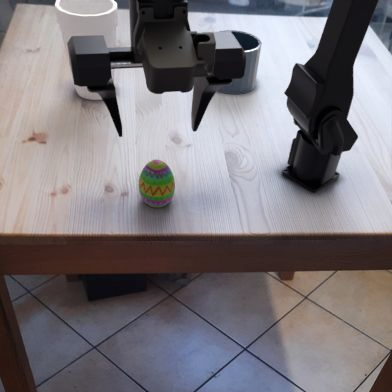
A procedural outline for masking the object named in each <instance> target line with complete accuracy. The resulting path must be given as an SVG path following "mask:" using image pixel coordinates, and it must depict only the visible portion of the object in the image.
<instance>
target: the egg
mask: <svg viewBox="0 0 392 392" xmlns="http://www.w3.org/2000/svg"><path fill="white" fill-rule="evenodd" d="M175 190H176V180H175V176H174V174H173V172H172V170H171V168H170V166H169V165H168V164H167V163H166V162H165V161H164V160H161V159H152V160H150V161H149V162H147V163H146V164H145V165H144V167H143V168H142V170H141V172H140V174H139V178H138V192H139V195H140V197H141V199H142V201H143V202H144V203H145V204H146V205H148V206H149V207H151V208H163V207H166V206H167V205H168V204H169V203H170V202H171V201H172V200H173V197H174V194H175V192H176V191H175Z"/></svg>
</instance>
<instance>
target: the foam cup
mask: <svg viewBox="0 0 392 392" xmlns="http://www.w3.org/2000/svg"><path fill="white" fill-rule="evenodd" d="M54 10H55V17H56V23H57V24H58V26H59V30H60V32H61V34H60V35H61V38H62V42H63V45H64V49H65V53H66V56H67V61H68V63H69V64H68V65H69V68H70V72H71V74H72V71H71V66H70V61H69V54H68V46H67V43H68V41H69V40H70V38H71V36H93V35H103V36H104V39H105V42H106V45H107V48H117V27H118V26H119V11H118V2H116V1H115V0H55V3H54ZM111 74H112V79H113V82H114V81H115V69H111ZM71 76H72V75H71ZM72 78H73V76H72ZM74 87H75V89H76V90H75V91H76V93H77V95H78V96H79V97H81V98H83V99H85V100H91V101H99V100H100V101H101V100H103V99H102V98H101V96H100V95H99V94H98V93H91V92H89V91H88V90H87V87H86V86H84V87H80V86H77V85H74Z"/></svg>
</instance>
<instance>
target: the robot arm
mask: <svg viewBox="0 0 392 392" xmlns="http://www.w3.org/2000/svg"><path fill="white" fill-rule="evenodd" d="M379 1H380V0H332V3H331V6H330V9H329V12H328V14H327V18H326V20H325V24H324V27H323V29H322V32H321V36H320V39H319V42H318V45H317V48H316V50H315V52H314V54H312V56H311V57H310V58H308V60H306V62H305V63H304V64H303V63H298V62H295V64H294V65H293V68H292V72H291V78H290V81H289V84H288V85H287V87H286V89H285V90H284V95H285V96H286V108H287V110H288V112H289V113H290V116H292V120H293V124H294V125H295V126H297V128H298V130H297V131H296V135H295V137H294V138H293V139H292V141H291V145H290V150H289V153H288V157H287V162H286V164H287V166H286V167H284V168H282V170H281V174H282V175H284V176H286V177H287V178H289V179H290V180H292V181H294V182H295V183H296V184H298V185H300V186H301V187H304V188H305V189H307V190H309V191H310V192H312V193H317V192H318V191H320V190H321V189H323V188H325V187H327V186H328V185H329V184H331V183H333V182H334V181H336V180H337V179H340V172H338V171H337V169H338V166H339V162H340V159H341V157H342V153H344V152H349V151H351V150H352V148H353V146H354V145H355V144H356V142H357V140H358V139H359V135H358V134H357V132H356V130H355V129H354V127H353V126H352V125H351V123H350V121H349V120H348V117H349V114H350V111H351V106H352V103H353V100H354V95H355V90H354V89H355V88H354V85H355V82H354V66H355V63H356V60H357V58H358V55H359V52H360V49H361V47H362V44H363V42H364V39H365V38H366V34H367V32H368V29H369V27H370V24H371V22H372V19H373V16H374V14H375V11H376V9H377V7H378V3H379ZM188 5H189V1H188V0H128V10H129V11H128V12H129V13H128V14H129V37H130V46H122V47H121V46H119V47H117V46H116V48H107V45H106V42H105V39H104V36H103V35H93V36H71V38H70V40H69V41H68V43H67V46H68V54H69V61H70V65H69V67H70V66H71V69H70V72H71V71H72V73H71V76H73V77H72V80H73V85H74V86H75V85H77V86H80V87H84V86H86V87H87V90H88V91H89V92H91V93H98V94H99V95H100V96H101V98H102V99H101V100H102V102H103V103H104V105H105V106H106V108H107V110H108V113H109V115H110V117H111V120H112V122H113V125H114V128H115V130H116V132H117V135H118V137H119V138H122V137H123V123H122V118H121V114H120V109H119V102H118V98H117V90H116V86H115V83H114V82H113V79H112V74H111V69H114V70H118V69H119V70H121V69H139V68H142V69H143V74H144V78H145V85H146V89H147V90H148V91H149V92H150V93H151V94H154V95H162V94H164V93H173V92H175V93H176V92H180V93H183V94H184V93H185V94H186V93H189V92H191V91H192V98H191V99H192V100H191V110H190V111H191V112H190V113H191V114H190V119H191V120H190V121H191V123H190V124H191V130H192V132H194V133H195V132H197V131H198V129H199V127H200V125H201V122H202V120H203V118H204V115H205V114H206V111H207V109H208V106H209V104H210V103H211V101H212V99H213V98H214V96H215V94H216V93H217V92H218V91H217V90H219V89H220V88H222V87H223V86H228V85H230V84H231V83H232V79H240V78H242V77H244V74H245V67H246V52H245V51H244V49H243V48H242V47H241V45H240V44H239V42H238V41H237V39H236V38H235V36H234V35H233V34H232V32H231V31H225V30H220V31H221V32H219V31H201V32H198V31H197V30H191V26H190V22H189V10H188ZM69 61H68V62H69Z"/></svg>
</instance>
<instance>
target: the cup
mask: <svg viewBox="0 0 392 392" xmlns="http://www.w3.org/2000/svg"><path fill="white" fill-rule="evenodd" d="M221 31H222V30H219V31H218V32H221ZM224 31H231V32H232V34H233V35H234V36H235V38H236V39H237V41H238V42H239V44H240V45H241V47H242V48H243V49H244V51H245V52H246V67H245V74H244V77H242V78H240V79H232V83H231V84H230V85H228V86H223V87H222V88H220V89H219V90H217V91H216V92H218V93H219V92H220V93H222V94H227V95H243V94H247V93H250V92H251V91H253V90H254V88H255V87H256V82H257V76H258V69H259V64H260V56H261V50H262V44H263V42H262V41H261V39H260V38H259V37H258V36H256V35H254V34H252V33H249V32H246V31H244V30H243V31H242V30H237V29H233V30H232V29H226V30H225V29H224Z"/></svg>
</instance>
